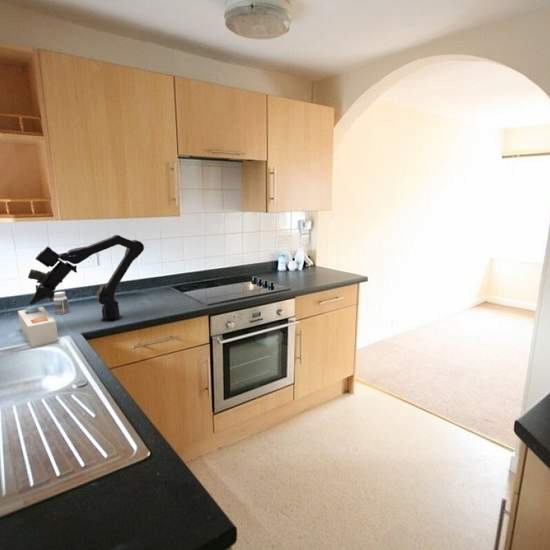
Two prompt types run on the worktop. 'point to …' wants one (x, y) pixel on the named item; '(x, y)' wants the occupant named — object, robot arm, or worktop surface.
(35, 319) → the terracotta button
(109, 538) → the worktop surface
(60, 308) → the pill bottle
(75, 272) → the robot arm
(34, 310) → the slate button
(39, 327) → the white slotted box
